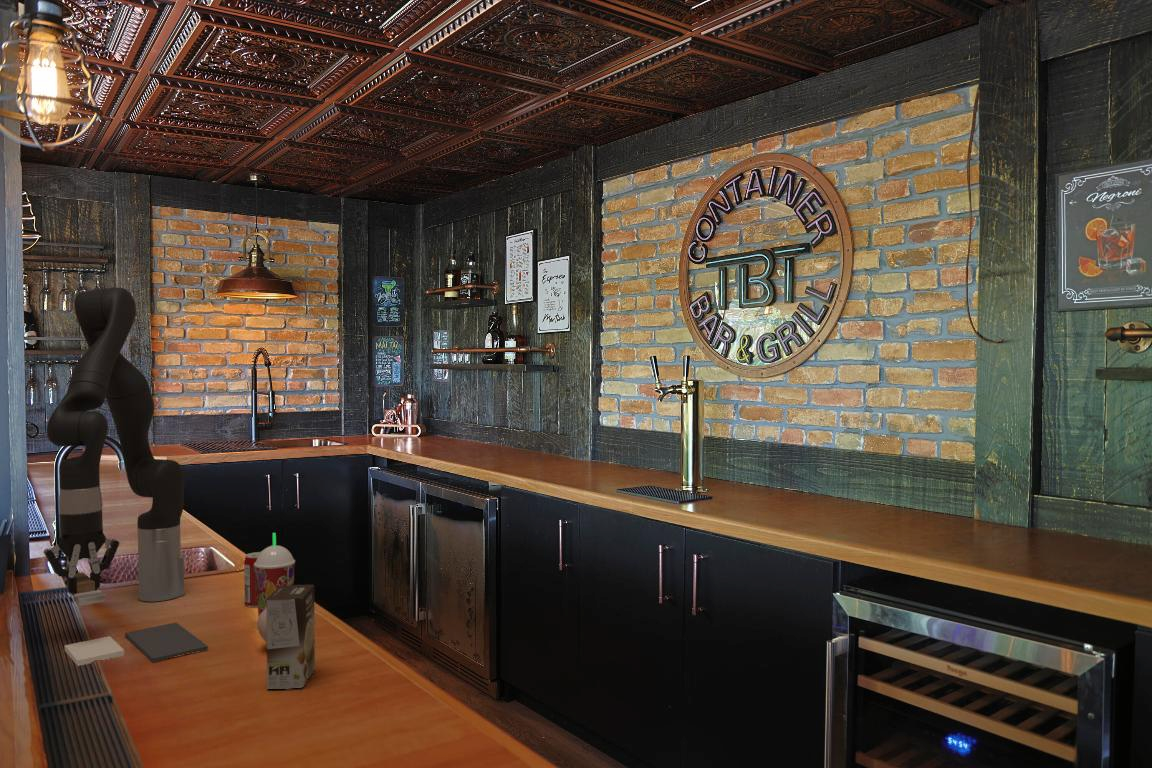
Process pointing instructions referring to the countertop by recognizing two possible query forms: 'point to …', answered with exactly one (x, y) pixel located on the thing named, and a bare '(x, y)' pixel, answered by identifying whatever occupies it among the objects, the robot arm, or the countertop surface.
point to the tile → (94, 650)
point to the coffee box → (290, 636)
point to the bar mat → (165, 641)
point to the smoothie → (272, 572)
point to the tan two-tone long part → (87, 591)
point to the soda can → (250, 579)
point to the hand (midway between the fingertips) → (83, 592)
